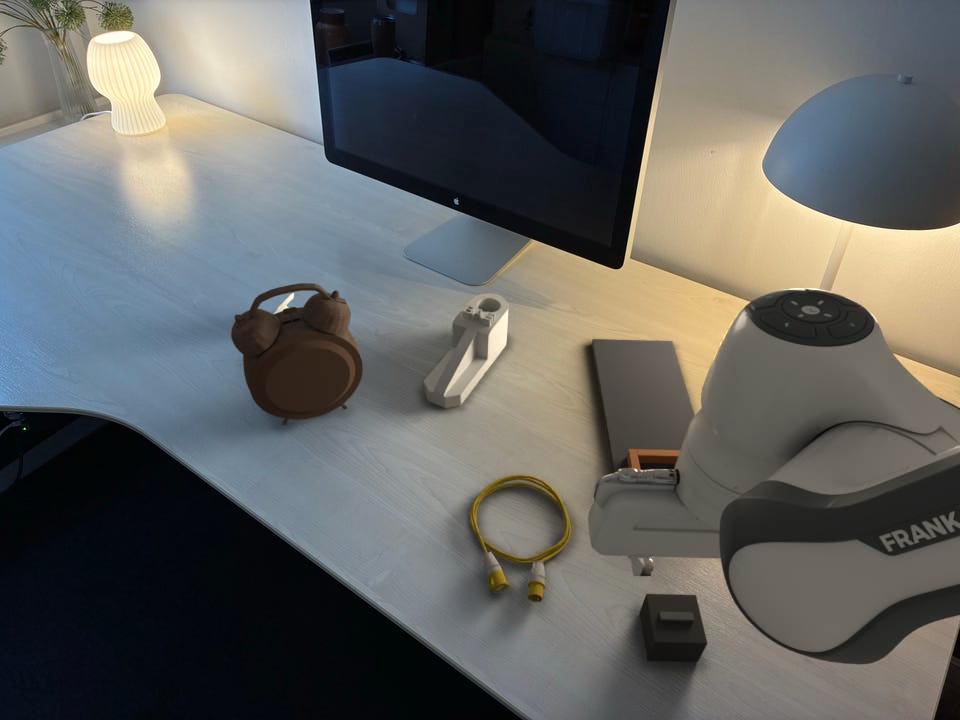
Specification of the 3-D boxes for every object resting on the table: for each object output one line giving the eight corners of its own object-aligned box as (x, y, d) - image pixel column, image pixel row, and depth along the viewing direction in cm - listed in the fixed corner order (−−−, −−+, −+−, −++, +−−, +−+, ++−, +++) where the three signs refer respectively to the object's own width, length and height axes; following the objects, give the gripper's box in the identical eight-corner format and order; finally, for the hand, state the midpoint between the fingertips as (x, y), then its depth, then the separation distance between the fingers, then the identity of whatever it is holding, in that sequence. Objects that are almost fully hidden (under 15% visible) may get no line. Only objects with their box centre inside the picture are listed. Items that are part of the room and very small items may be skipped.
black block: (687, 614, 71) (696, 592, 68) (697, 662, 67) (708, 641, 64) (638, 613, 71) (646, 591, 68) (646, 661, 67) (655, 640, 64)
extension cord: (433, 566, 74) (433, 556, 73) (499, 467, 85) (499, 456, 83) (535, 617, 70) (536, 607, 69) (590, 506, 80) (593, 496, 79)
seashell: (285, 352, 105) (269, 344, 97) (260, 332, 106) (241, 322, 98) (318, 312, 106) (305, 301, 98) (293, 292, 107) (277, 279, 99)
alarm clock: (356, 376, 96) (340, 257, 83) (371, 411, 91) (355, 289, 78) (251, 403, 92) (216, 282, 79) (260, 441, 87) (224, 318, 74)
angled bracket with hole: (419, 397, 93) (416, 354, 88) (479, 325, 105) (480, 283, 100) (455, 412, 92) (455, 368, 86) (512, 336, 104) (515, 294, 98)
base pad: (724, 525, 79) (730, 513, 77) (620, 523, 79) (624, 510, 77) (671, 346, 103) (674, 333, 101) (591, 343, 103) (593, 331, 101)
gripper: (604, 504, 49) (580, 600, 58) (886, 513, 49) (817, 607, 59) (595, 438, 54) (573, 536, 63) (852, 446, 54) (793, 543, 63)
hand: (692, 570), depth 61 cm, fingers open, 8 cm apart
